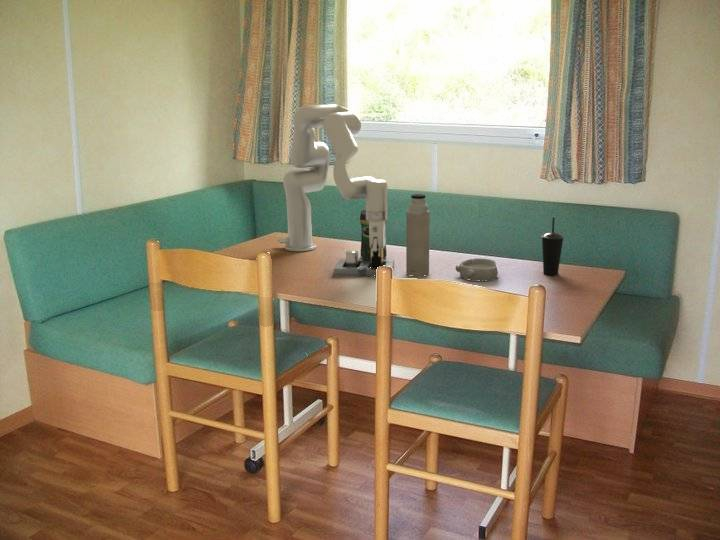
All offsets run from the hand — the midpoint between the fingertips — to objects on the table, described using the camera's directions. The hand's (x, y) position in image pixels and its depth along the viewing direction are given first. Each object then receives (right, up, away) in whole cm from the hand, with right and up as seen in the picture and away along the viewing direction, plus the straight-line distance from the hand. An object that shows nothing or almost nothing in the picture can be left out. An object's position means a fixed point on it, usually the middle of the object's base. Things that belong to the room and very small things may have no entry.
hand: (377, 265), depth 274 cm
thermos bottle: (+14, -3, -3) cm, 15 cm away
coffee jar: (-1, +3, +19) cm, 19 cm away
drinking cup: (+60, -3, -6) cm, 61 cm away
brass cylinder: (0, -1, 0) cm, 1 cm away
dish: (+35, -4, -8) cm, 36 cm away
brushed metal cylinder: (-9, -2, +2) cm, 9 cm away
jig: (-4, -2, +1) cm, 5 cm away
